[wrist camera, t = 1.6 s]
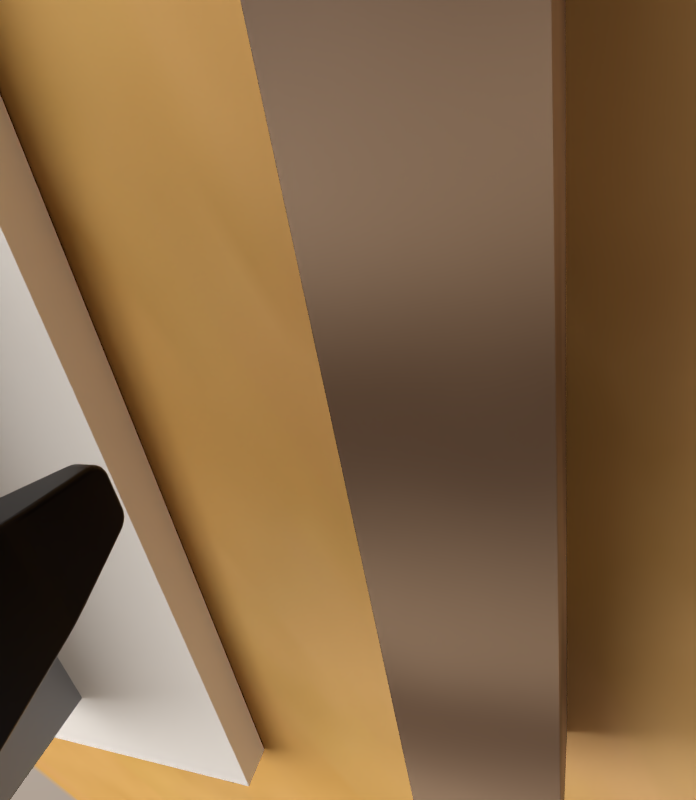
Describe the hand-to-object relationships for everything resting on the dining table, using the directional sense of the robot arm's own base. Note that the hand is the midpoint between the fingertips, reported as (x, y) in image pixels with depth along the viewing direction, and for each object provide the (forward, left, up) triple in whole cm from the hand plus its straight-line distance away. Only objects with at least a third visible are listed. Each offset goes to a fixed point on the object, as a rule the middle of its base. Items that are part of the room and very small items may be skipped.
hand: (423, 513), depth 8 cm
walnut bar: (0, 0, -5) cm, 5 cm away
